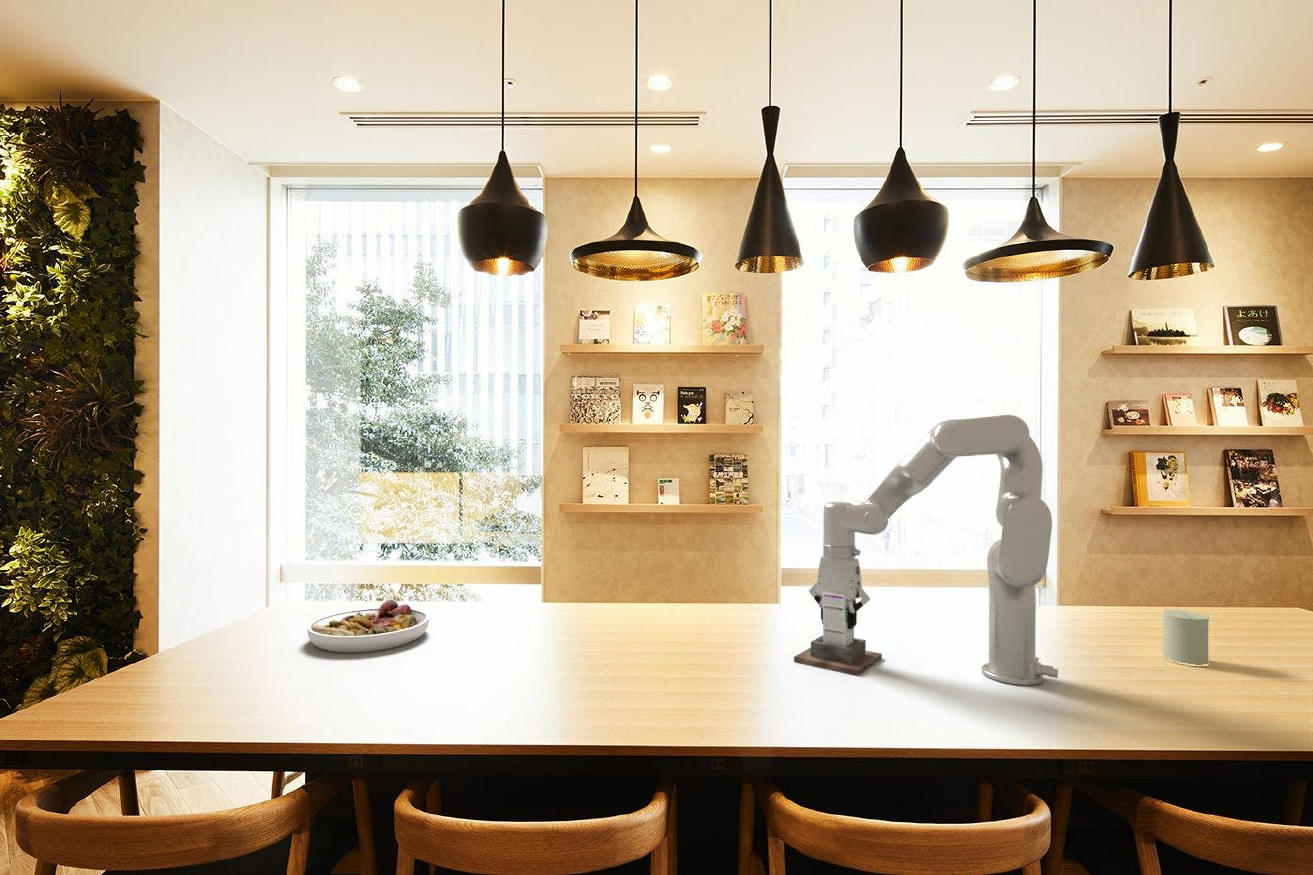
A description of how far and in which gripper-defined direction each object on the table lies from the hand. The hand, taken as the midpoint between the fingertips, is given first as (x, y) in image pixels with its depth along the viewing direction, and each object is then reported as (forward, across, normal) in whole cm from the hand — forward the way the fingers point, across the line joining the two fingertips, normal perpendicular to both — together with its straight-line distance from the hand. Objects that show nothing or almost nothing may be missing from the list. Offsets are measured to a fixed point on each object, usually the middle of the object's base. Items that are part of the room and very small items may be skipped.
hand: (838, 624), depth 165 cm
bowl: (+9, +106, +62) cm, 123 cm away
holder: (+9, 0, 0) cm, 9 cm away
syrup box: (+6, 0, 0) cm, 6 cm away
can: (+9, -68, -54) cm, 87 cm away
